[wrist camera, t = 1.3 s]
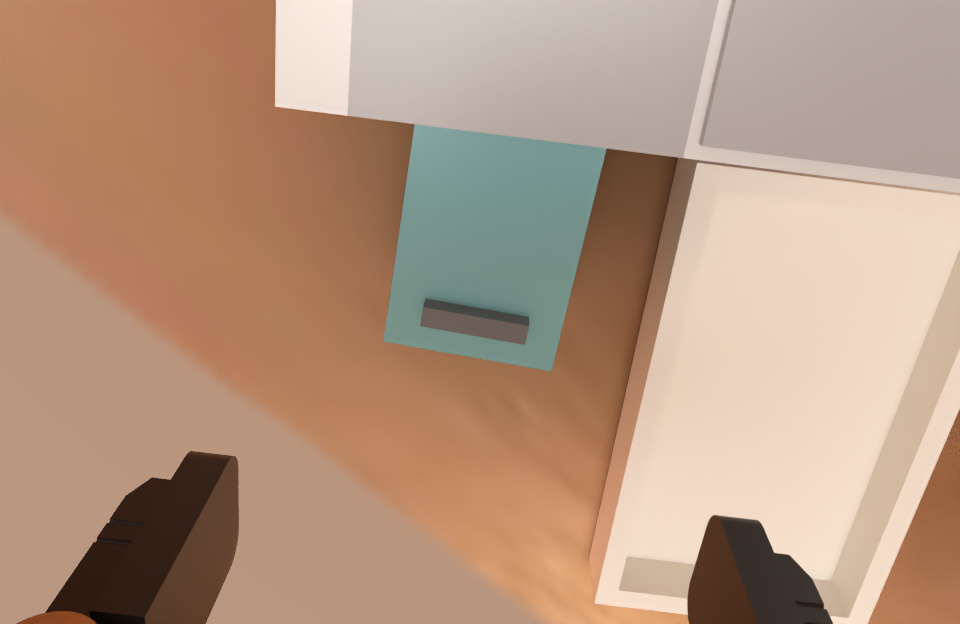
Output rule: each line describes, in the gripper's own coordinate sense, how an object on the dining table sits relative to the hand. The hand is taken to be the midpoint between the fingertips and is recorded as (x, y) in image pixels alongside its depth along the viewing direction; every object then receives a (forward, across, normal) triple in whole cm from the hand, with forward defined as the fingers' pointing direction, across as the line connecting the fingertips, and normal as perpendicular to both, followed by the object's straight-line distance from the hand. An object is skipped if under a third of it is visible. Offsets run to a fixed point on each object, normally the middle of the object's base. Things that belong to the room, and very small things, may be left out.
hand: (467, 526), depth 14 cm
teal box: (+16, 0, -4) cm, 17 cm away
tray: (+16, -11, +5) cm, 20 cm away
